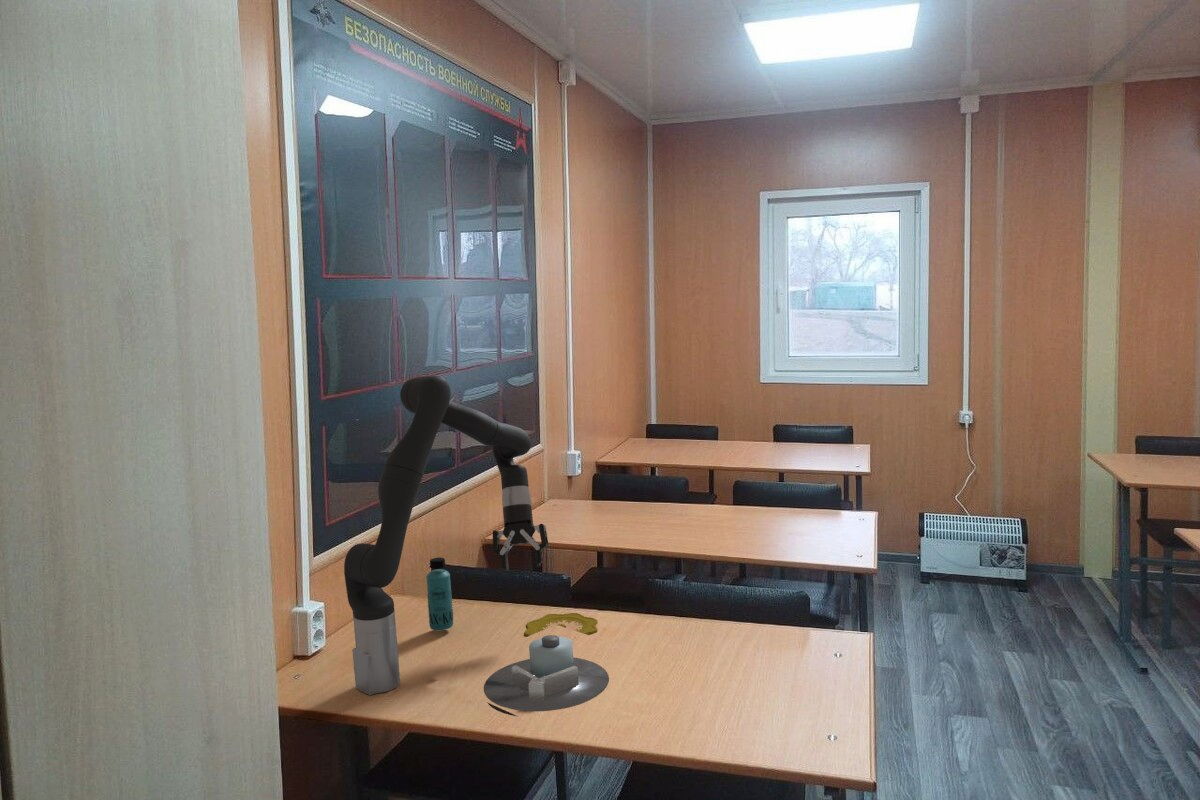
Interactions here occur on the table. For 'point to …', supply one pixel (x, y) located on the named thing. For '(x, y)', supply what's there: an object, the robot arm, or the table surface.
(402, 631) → the table surface
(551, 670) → the cover
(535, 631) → the decorative medallion
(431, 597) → the beverage bottle
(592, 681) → the turntable
